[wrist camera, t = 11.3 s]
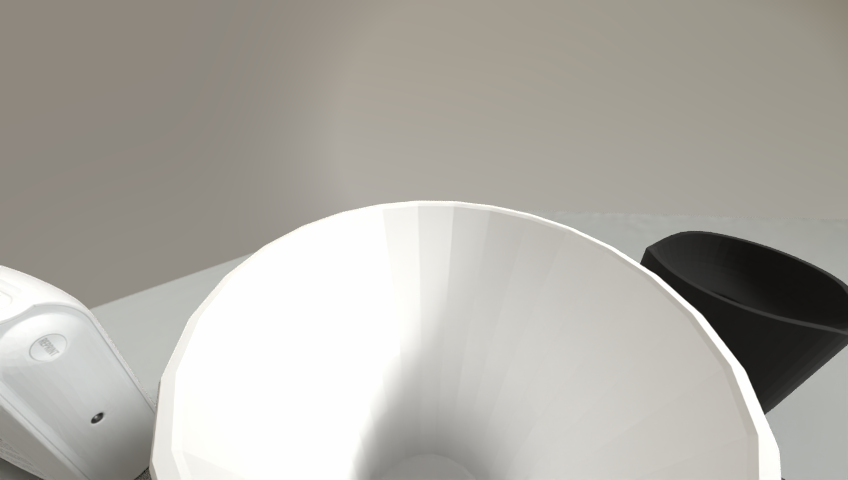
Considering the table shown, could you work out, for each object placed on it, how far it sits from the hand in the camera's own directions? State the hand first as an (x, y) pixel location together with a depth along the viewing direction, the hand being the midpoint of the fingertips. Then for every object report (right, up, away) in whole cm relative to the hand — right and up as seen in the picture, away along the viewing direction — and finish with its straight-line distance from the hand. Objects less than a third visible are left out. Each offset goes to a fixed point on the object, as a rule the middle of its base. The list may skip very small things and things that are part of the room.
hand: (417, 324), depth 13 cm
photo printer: (-20, -8, +5) cm, 22 cm away
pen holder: (+19, -7, +10) cm, 22 cm away
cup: (+1, -9, 0) cm, 9 cm away
